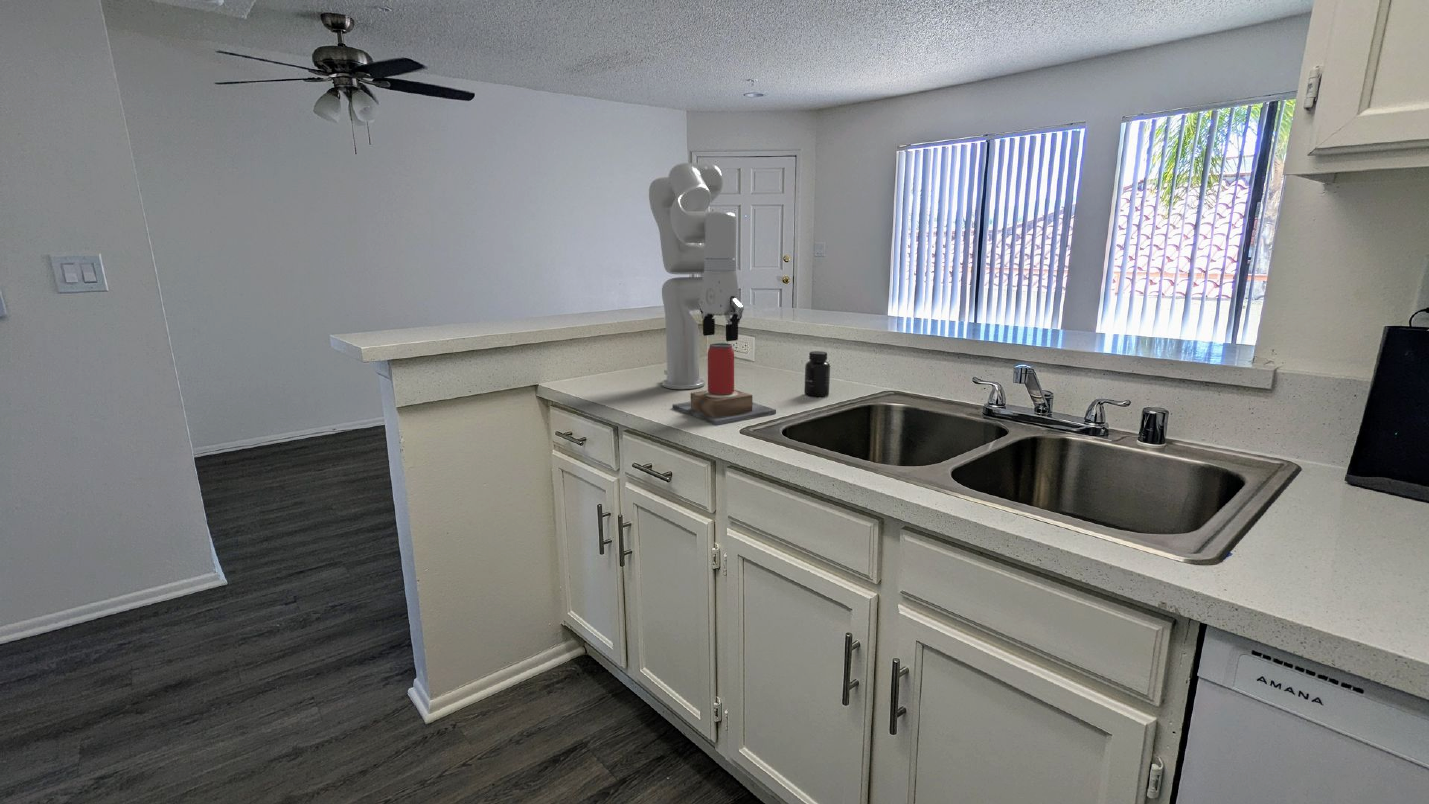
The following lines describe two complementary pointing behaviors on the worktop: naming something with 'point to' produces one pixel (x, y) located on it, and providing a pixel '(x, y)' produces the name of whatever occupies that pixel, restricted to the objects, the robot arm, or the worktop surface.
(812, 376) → the supplement bottle
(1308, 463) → the worktop surface
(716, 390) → the beer can
